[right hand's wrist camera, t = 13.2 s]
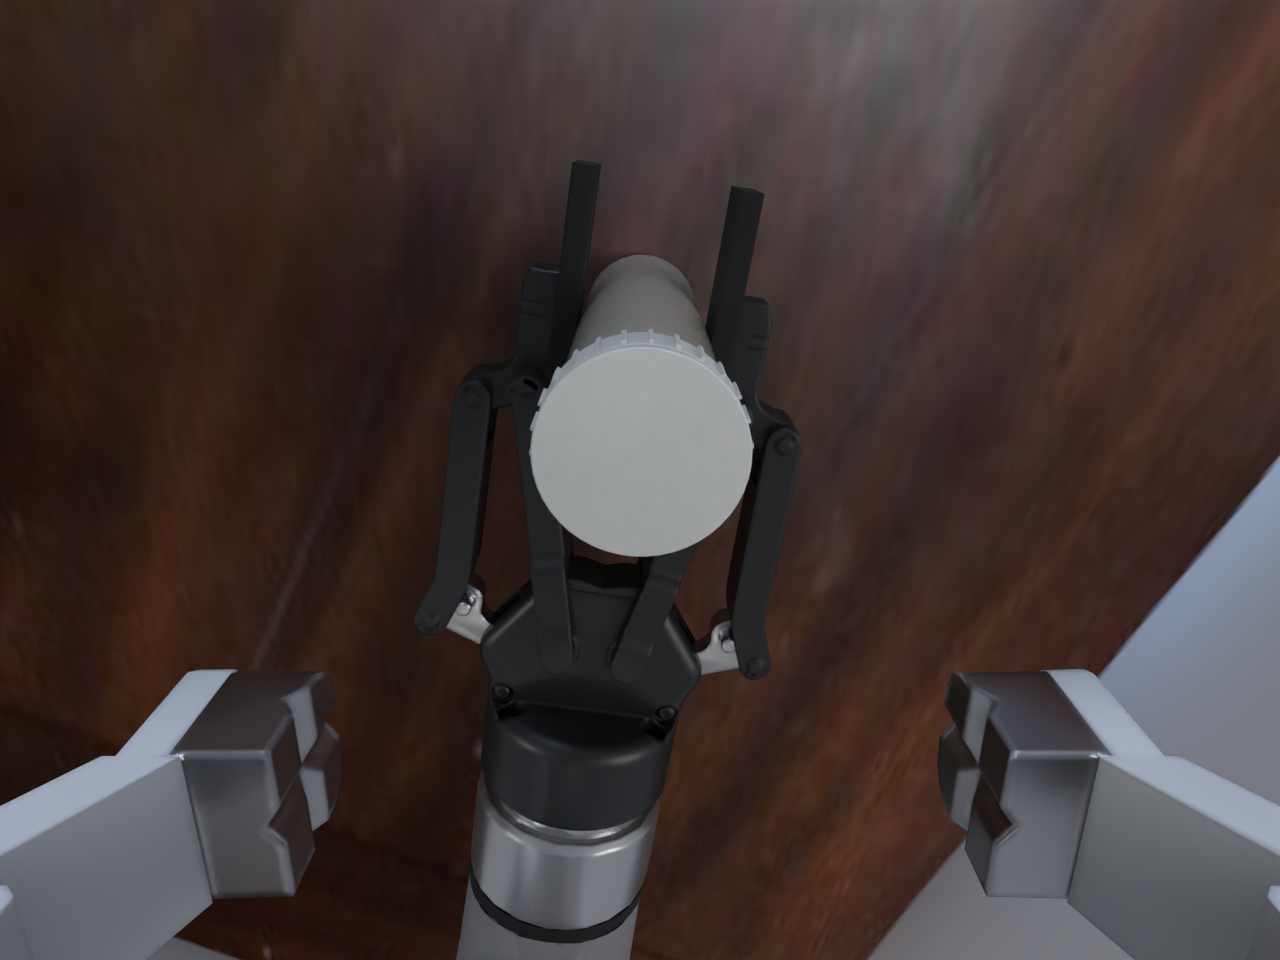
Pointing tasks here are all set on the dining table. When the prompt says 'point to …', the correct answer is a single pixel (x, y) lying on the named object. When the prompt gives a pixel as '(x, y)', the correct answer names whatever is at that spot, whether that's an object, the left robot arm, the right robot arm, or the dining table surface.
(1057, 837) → the right robot arm
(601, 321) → the jar
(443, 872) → the dining table surface
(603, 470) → the lid
